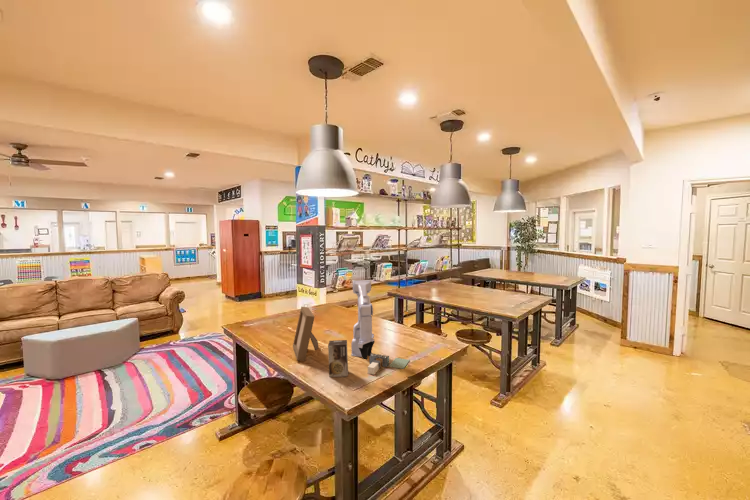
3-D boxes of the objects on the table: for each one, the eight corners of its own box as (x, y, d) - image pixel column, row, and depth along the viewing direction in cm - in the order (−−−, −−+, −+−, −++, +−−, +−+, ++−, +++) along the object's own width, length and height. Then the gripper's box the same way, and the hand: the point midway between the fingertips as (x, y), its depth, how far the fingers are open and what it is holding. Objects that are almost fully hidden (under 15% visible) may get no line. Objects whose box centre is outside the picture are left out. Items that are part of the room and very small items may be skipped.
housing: (369, 364, 167) (369, 354, 166) (371, 361, 170) (371, 352, 169) (387, 367, 163) (387, 357, 163) (389, 364, 166) (389, 355, 165)
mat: (388, 366, 164) (388, 365, 164) (395, 358, 174) (395, 357, 174) (403, 368, 161) (403, 368, 161) (409, 360, 171) (409, 359, 171)
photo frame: (297, 362, 171) (296, 316, 169) (292, 347, 191) (291, 307, 189) (324, 358, 176) (323, 314, 174) (317, 344, 196) (316, 305, 195)
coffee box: (348, 370, 160) (347, 339, 159) (347, 376, 153) (346, 344, 152) (330, 371, 159) (329, 340, 158) (328, 377, 153) (327, 344, 152)
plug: (367, 373, 156) (367, 366, 156) (374, 366, 164) (374, 359, 164) (374, 374, 155) (373, 367, 155) (380, 367, 163) (380, 360, 163)
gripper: (367, 335, 141) (368, 364, 142) (379, 325, 155) (379, 352, 156) (353, 333, 144) (354, 362, 145) (366, 324, 157) (366, 350, 158)
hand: (366, 357), depth 150 cm, fingers open, 3 cm apart
